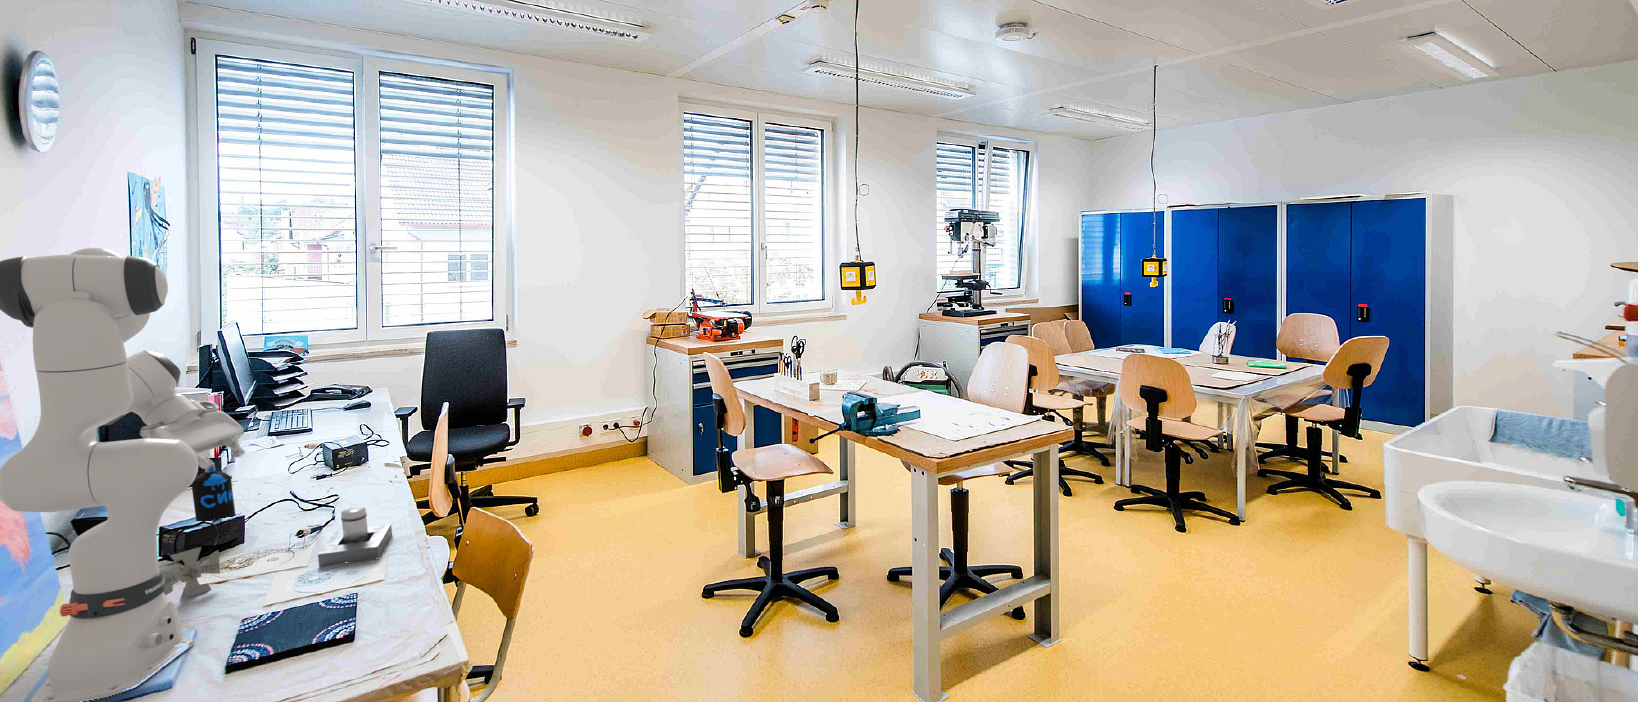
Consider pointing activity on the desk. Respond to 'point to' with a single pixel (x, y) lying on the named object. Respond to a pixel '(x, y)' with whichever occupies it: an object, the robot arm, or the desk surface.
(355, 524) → the cylinder
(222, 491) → the aerosol can
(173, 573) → the cross
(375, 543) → the grey rectangular frame
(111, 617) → the robot arm
